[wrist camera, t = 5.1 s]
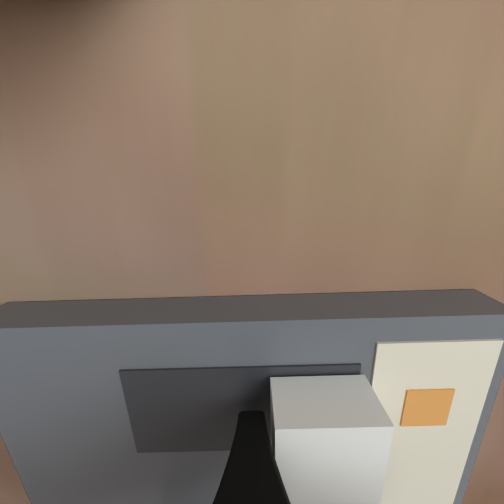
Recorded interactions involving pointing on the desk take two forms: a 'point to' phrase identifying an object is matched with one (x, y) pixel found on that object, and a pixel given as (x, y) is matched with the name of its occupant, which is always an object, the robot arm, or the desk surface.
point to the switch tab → (329, 439)
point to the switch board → (236, 386)
